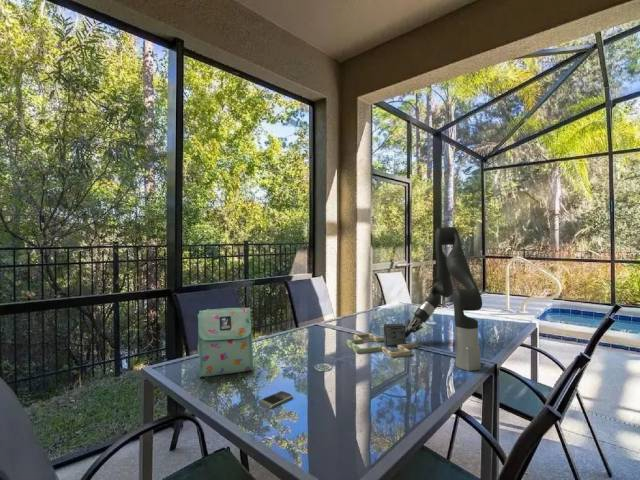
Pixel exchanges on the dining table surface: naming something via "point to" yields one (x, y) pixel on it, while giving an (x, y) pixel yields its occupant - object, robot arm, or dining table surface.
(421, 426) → the dining table surface
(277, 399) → the cell phone
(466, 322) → the robot arm
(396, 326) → the small box
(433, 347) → the dining table surface
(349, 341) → the trap course
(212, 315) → the lunch bag
